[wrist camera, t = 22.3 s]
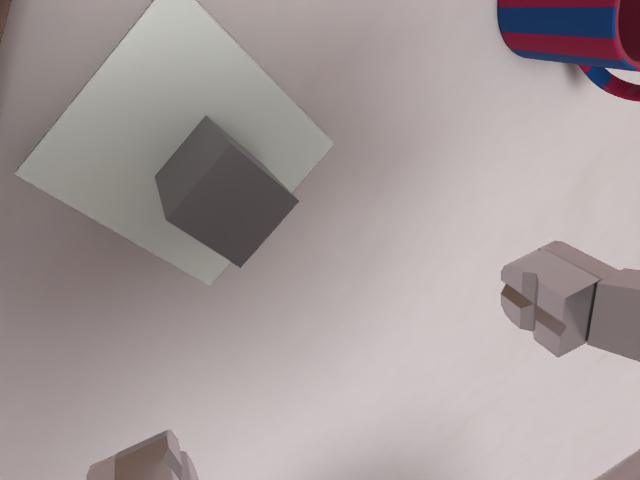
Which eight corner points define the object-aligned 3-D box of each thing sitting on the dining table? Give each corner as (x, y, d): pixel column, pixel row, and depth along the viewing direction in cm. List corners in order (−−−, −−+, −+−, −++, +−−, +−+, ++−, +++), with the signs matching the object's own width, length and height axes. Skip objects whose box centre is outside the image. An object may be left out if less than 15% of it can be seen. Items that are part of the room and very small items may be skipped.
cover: (205, 275, 24) (230, 345, 19) (19, 165, 19) (-15, 224, 14) (325, 138, 24) (383, 173, 18) (169, -22, 18) (193, -33, 13)
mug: (580, -109, 23) (732, -147, 17) (604, 61, 28) (723, 74, 23) (481, -30, 22) (603, -42, 17) (526, 125, 28) (627, 154, 23)
